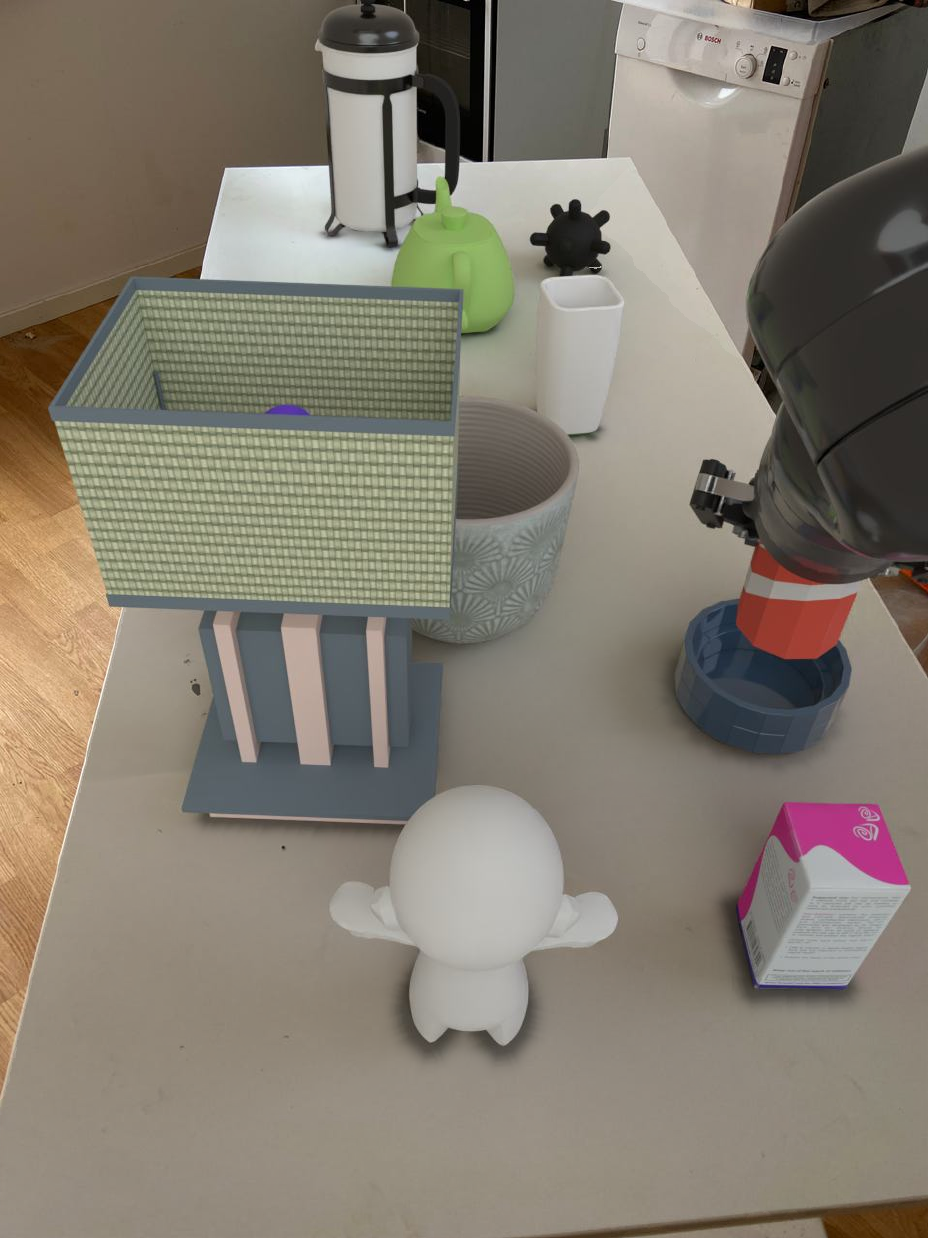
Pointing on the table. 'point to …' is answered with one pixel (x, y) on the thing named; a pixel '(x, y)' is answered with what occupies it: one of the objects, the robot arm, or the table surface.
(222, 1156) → the table surface
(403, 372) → the desk lamp
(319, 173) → the table surface
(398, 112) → the coffee press
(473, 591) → the planter
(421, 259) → the teapot
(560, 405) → the cup
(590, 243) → the toy ball
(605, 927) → the figurine
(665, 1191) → the table surface
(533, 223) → the table surface
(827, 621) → the beverage can
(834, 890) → the supplement box
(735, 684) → the bowl
